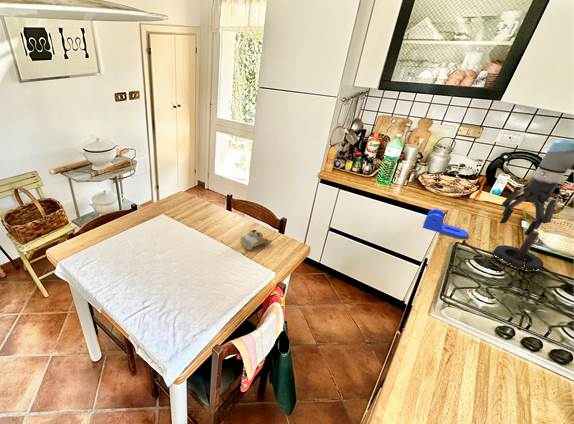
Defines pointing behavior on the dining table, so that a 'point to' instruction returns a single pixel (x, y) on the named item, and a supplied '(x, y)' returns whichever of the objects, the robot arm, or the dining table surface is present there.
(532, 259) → the tape roll
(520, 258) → the peg stand
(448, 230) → the bracket
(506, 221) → the robot arm
